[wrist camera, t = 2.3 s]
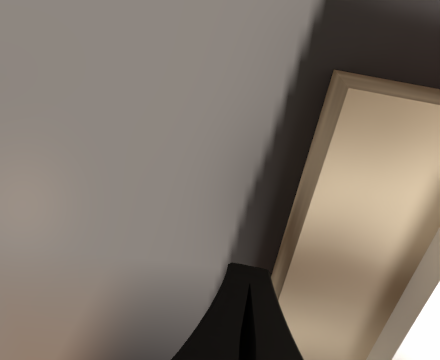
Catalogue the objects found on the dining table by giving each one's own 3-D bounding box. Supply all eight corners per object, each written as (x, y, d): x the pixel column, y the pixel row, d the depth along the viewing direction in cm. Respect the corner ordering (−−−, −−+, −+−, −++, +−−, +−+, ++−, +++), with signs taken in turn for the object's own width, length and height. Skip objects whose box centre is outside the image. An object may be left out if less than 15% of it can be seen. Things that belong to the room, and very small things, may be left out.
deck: (446, 389, 18) (470, 444, 16) (249, 347, 18) (246, 395, 16) (647, 128, 11) (738, 161, 9) (333, 69, 12) (348, 87, 10)
